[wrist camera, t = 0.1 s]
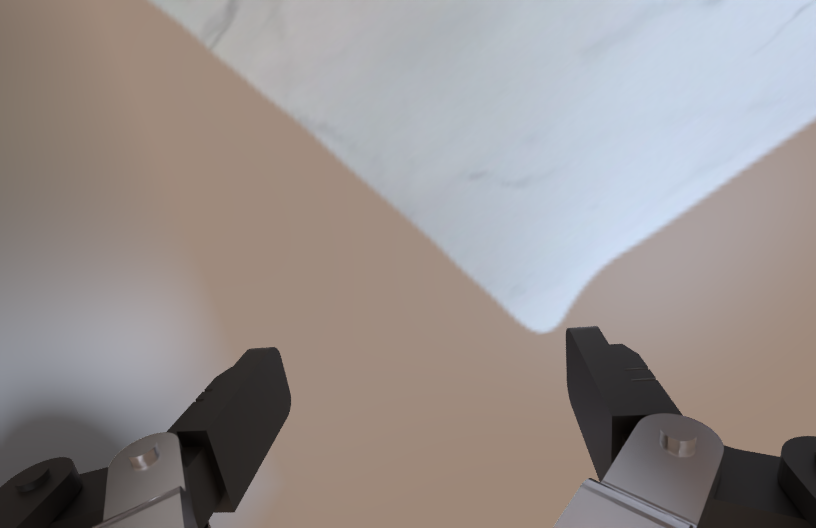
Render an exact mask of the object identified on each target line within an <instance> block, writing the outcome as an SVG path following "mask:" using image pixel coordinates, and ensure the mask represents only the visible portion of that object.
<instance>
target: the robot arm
mask: <svg viewBox="0 0 816 528" xmlns="http://www.w3.org/2000/svg"><path fill="white" fill-rule="evenodd" d="M566 363H567V387H568V393H569V399H570V402H571V406H572V408H573V411H574V414H575V416H576V419H577V422H578V424H579V427H580V430H581V432H582V435H583V438H584V440H585V443H586V446H587V449H588V451H589V454H590V457H591V459H592V462H593V465H594V467H595V470H596V473H597V475H598V478H599V481H600V482H598V481H596V480H594V479H591V478H589V479H587V480H585V481H584V482H583V483H582V485H581V486H580V488H579V489H578V491H577V492H576V494H575V495H574V497H573V498H572V500H571V501H570V503H569V504H568V506H567V507H566V509H565V510H564V512H563V514H562V515H561V516H560V518H559V519H558V521H557V523H556V524H555V526H554V527H553V528H816V437H814V436H803V437H796V438H793V439H790V440H788V441H787V442H785V444H784V445H783V446H782V451H781V456H780V457H776V456H771V455H766V454H760V453H755V452H749V451H743V450H739V449H734V448H731V447H728V446H724V445H723V443H722V441H721V439H720V438H719V436H718V435H717V434H716V433H715V432H714V431H713V430H712V429H710V428H709V427H708V426H706V425H704V424H703V423H701V422H699V421H697V420H695V419H692V418H689V417H686V416H683V415H682V414H681V412H680V411H679V410H678V408H677V407H676V405H675V404H674V403H673V402H672V400H671V399H670V397H669V396H668V394H667V393H666V392H665V390H664V389H663V387H662V386H661V385H660V383H659V382H658V381H657V380H656V378H655V376H654V375H653V373H652V372H651V371H650V370H648V366H647V365H646V364H645V362H644V361H643V360H642V358H641V357H640V356H639V354H638V353H636V352H634V351H632V350H631V349H630V348H628V347H626V346H625V345H623V344H611V345H609V344H608V342H607V340H606V339H605V337H604V336H603V334H602V332H601V331H600V329H599V328H598V327H597V326H593V327H577V328H568V329H567V330H566ZM290 406H291V395H290V390H289V386H288V383H287V378H286V375H285V371H284V367H283V363H282V359H281V356H280V353H279V351H278V350H277V348H275V347H269V348H255V349H249V350H247V351H246V352H245V353H244V354H243V356H242V357H241V358H240V359H239V360H238V361H237V362H236V364H235V365H234V366H233V367H231V368H229V369H228V370H226V371H225V372H223V373H222V374H220V375H219V376H217V377H216V378H215V379H214V380H213V381H212V382H211V383H210V384H209V385H208V386H207V388H206V389H205V392H202V393H201V394H200V395H199V396H198V398H197V399H196V402H193V403H192V404H191V406H190V407H189V408H188V409H187V410H186V411H185V412H184V413H183V414H182V415H181V416H180V418H179V419H178V420H177V421H176V422H175V423H174V424H173V425H172V426H171V428H170V429H169V430H168V431H167V432H163V433H156V434H152V435H149V436H146V437H144V438H142V439H139V440H137V441H135V442H133V443H131V444H130V445H128V446H127V447H125V448H124V449H123V450H121V451H120V452H119V453H118V454H117V455H116V456H115V457H114V458H113V460H112V461H111V463H110V465H109V467H106V468H103V469H99V470H95V471H91V472H87V473H83V474H79V473H78V471H77V469H76V467H75V465H74V463H73V461H72V460H71V459H70V458H66V457H59V458H53V459H49V460H46V461H43V462H40V463H38V464H35V465H33V466H31V467H29V468H27V469H25V470H24V471H22V472H20V473H19V474H17V475H15V476H14V477H13V478H11V479H10V480H9V481H7V482H6V483H5V484H4V485H3V486H1V487H0V528H211V526H210V524H209V519H210V517H211V516H212V514H213V512H235V510H236V508H237V506H238V505H239V503H240V501H241V499H242V498H243V496H244V494H245V492H246V491H247V489H248V487H249V485H250V483H251V482H252V480H253V478H254V476H255V474H256V472H257V471H258V469H259V467H260V465H261V464H262V462H263V460H264V458H265V456H266V455H267V453H268V451H269V449H270V447H271V446H272V444H273V442H274V440H275V438H276V436H277V435H278V433H279V431H280V429H281V428H282V426H283V424H284V422H285V420H286V419H287V417H288V415H289V412H290Z"/></svg>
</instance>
